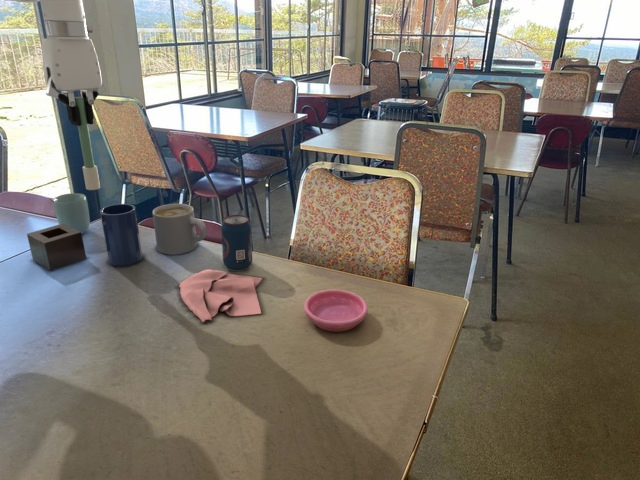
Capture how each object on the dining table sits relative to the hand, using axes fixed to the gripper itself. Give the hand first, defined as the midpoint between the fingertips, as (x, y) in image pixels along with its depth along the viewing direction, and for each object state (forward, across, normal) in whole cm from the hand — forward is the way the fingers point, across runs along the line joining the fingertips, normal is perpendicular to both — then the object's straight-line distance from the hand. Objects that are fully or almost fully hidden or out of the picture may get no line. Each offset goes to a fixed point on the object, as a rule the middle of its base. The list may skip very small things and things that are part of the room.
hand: (82, 123), depth 104 cm
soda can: (+33, -18, +27) cm, 46 cm away
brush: (+15, 0, 0) cm, 15 cm away
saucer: (+32, -14, +59) cm, 69 cm away
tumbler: (+33, -3, +4) cm, 33 cm away
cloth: (+33, -6, +35) cm, 48 cm away
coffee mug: (+33, -16, +9) cm, 37 cm away
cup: (+33, -4, -21) cm, 39 cm away
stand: (+33, +7, -8) cm, 34 cm away
